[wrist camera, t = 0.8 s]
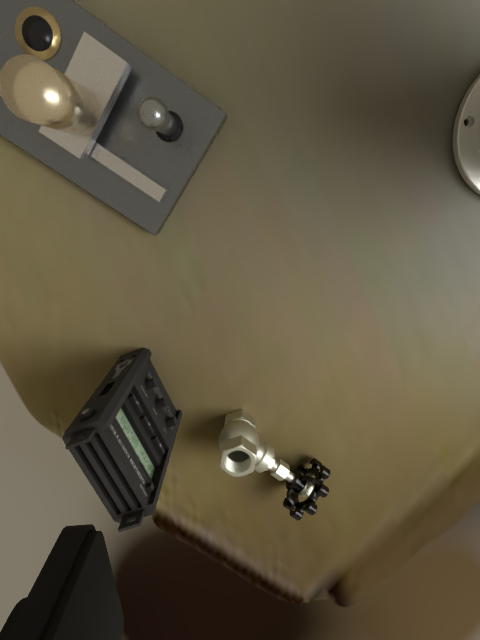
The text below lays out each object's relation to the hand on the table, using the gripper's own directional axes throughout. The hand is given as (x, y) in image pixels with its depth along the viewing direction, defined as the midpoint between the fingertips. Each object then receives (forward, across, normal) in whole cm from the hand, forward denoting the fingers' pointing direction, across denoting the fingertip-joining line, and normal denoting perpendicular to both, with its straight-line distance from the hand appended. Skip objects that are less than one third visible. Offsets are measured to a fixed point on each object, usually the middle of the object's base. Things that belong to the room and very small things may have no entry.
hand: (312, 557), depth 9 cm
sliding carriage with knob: (+30, +12, -16) cm, 36 cm away
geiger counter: (+32, +12, +12) cm, 36 cm away
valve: (+32, 0, +19) cm, 38 cm away
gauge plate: (+32, +14, -17) cm, 38 cm away
